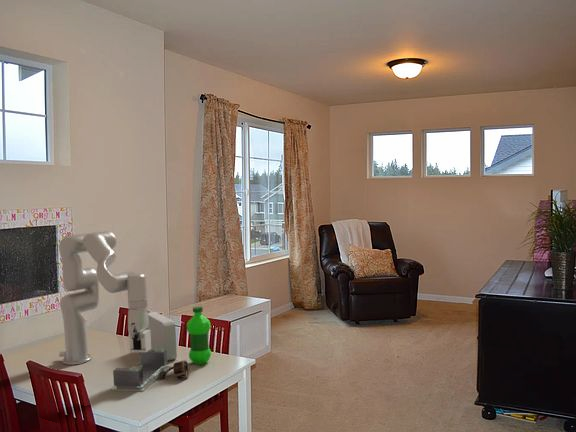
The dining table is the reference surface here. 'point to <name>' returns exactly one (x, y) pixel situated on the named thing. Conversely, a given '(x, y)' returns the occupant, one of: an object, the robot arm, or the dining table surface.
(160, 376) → the brown antique clock
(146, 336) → the block
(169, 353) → the rounded white slab
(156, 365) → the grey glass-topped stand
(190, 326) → the plastic bottle
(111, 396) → the dining table surface
